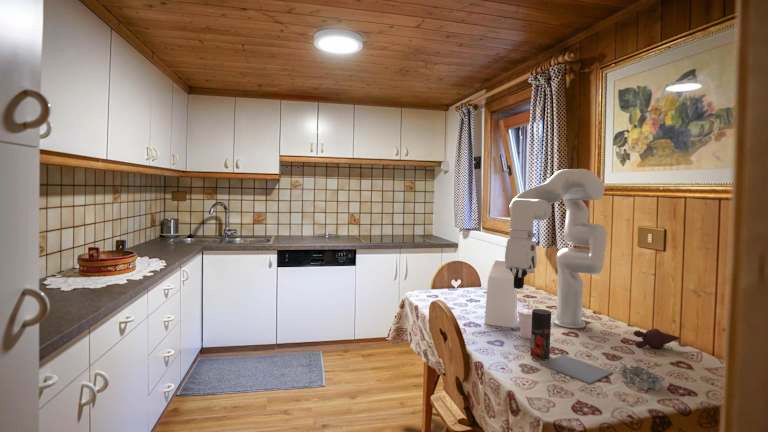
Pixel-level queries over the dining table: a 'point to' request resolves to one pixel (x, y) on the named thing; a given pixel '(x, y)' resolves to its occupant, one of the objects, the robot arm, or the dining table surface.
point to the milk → (501, 297)
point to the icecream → (654, 338)
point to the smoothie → (525, 322)
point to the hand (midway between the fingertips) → (518, 288)
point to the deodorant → (540, 334)
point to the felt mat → (576, 369)
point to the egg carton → (641, 377)
